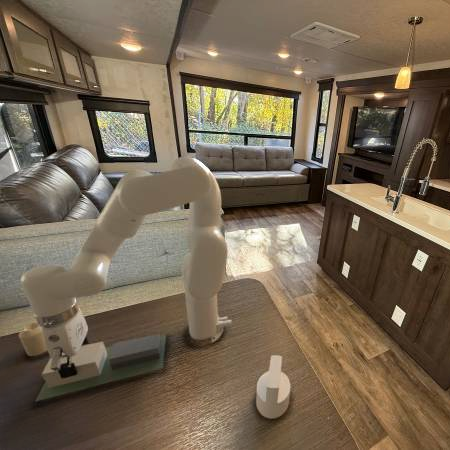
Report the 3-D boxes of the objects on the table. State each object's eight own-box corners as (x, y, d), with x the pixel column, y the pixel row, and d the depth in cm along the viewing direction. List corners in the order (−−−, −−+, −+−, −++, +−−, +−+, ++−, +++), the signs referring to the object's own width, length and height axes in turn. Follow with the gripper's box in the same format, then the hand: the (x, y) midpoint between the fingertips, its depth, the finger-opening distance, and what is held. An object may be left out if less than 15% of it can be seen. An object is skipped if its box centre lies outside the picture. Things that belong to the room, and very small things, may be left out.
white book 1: (104, 345, 73) (102, 341, 72) (96, 366, 67) (95, 361, 66) (55, 356, 69) (53, 351, 68) (43, 379, 63) (41, 374, 62)
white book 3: (107, 354, 74) (106, 349, 74) (100, 375, 68) (98, 370, 68) (60, 364, 70) (58, 360, 69) (48, 388, 64) (46, 383, 63)
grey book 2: (161, 343, 79) (160, 338, 78) (159, 358, 75) (158, 353, 74) (116, 353, 75) (115, 348, 74) (111, 370, 70) (110, 364, 69)
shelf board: (166, 337, 83) (165, 334, 83) (163, 371, 72) (162, 368, 72) (59, 361, 73) (58, 357, 72) (36, 405, 62) (34, 401, 61)
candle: (38, 361, 72) (26, 336, 68) (23, 356, 73) (11, 331, 69) (59, 346, 77) (49, 321, 73) (44, 342, 78) (34, 317, 74)
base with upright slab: (259, 382, 72) (260, 353, 67) (290, 385, 72) (293, 356, 67) (253, 416, 64) (253, 386, 59) (287, 420, 64) (291, 389, 59)
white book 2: (106, 350, 74) (104, 345, 73) (98, 370, 68) (97, 366, 67) (58, 360, 69) (56, 356, 69) (46, 383, 63) (44, 379, 63)
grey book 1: (160, 338, 78) (159, 333, 78) (158, 353, 74) (157, 347, 73) (115, 348, 74) (113, 343, 73) (110, 364, 69) (108, 359, 68)
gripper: (62, 335, 55) (82, 386, 62) (88, 288, 70) (102, 333, 76) (17, 343, 52) (43, 396, 59) (54, 292, 67) (71, 339, 74)
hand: (76, 360), depth 68 cm, fingers open, 8 cm apart
